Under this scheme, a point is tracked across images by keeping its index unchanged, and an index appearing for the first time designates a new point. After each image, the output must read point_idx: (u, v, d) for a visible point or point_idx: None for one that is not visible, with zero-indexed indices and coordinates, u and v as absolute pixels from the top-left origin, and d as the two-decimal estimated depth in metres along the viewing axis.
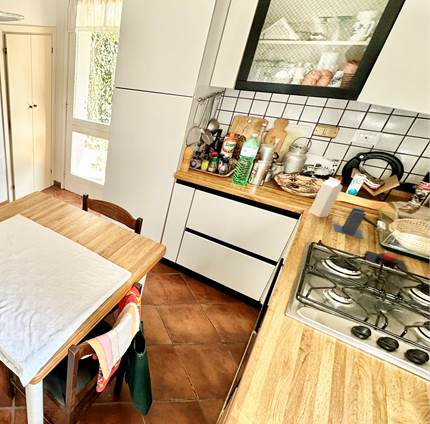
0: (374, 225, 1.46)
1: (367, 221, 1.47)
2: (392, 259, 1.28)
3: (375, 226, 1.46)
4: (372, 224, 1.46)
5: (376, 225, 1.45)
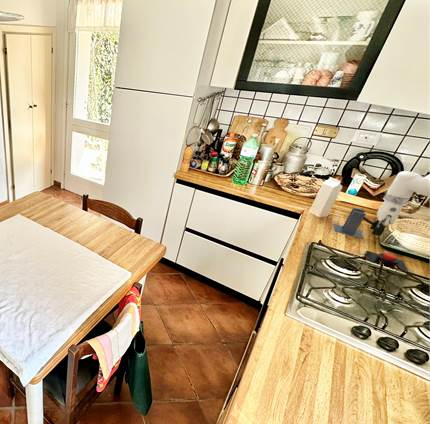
0: (374, 225, 1.46)
1: (367, 221, 1.47)
2: (392, 259, 1.28)
3: (375, 226, 1.46)
4: (372, 224, 1.46)
5: (376, 225, 1.45)
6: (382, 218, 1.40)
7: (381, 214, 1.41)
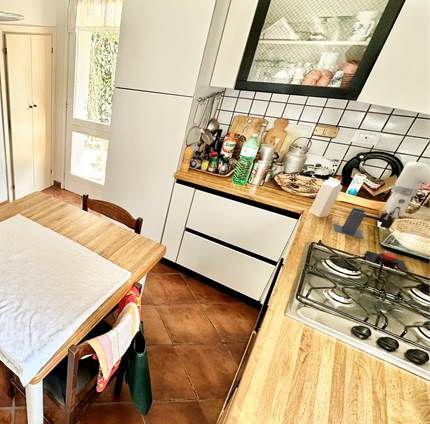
0: (380, 219, 1.44)
1: None
2: (392, 259, 1.28)
3: (382, 220, 1.44)
4: (378, 219, 1.44)
5: (382, 219, 1.43)
6: (390, 210, 1.37)
7: (389, 206, 1.38)
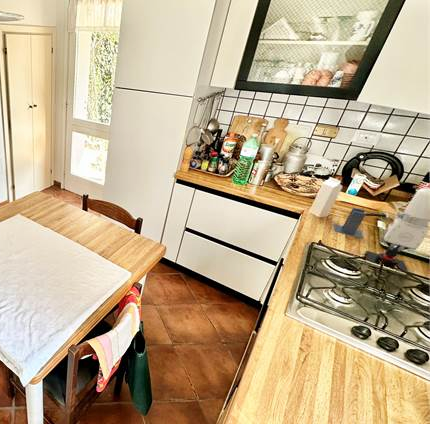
0: (382, 216, 1.43)
1: (372, 215, 1.45)
2: (391, 260, 1.28)
3: (384, 216, 1.43)
4: (379, 216, 1.43)
5: (383, 215, 1.42)
6: None
7: None
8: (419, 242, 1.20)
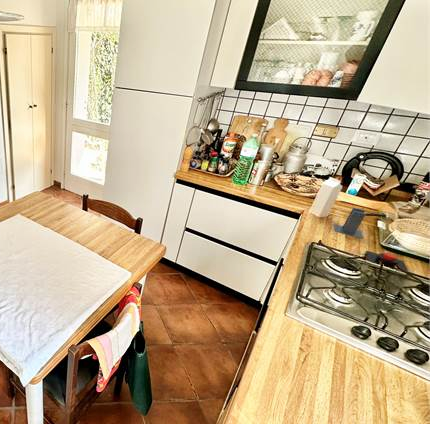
0: (382, 216, 1.43)
1: (372, 215, 1.45)
2: (392, 259, 1.28)
3: (384, 216, 1.43)
4: (379, 216, 1.43)
5: (383, 215, 1.42)
6: None
7: None
8: None
